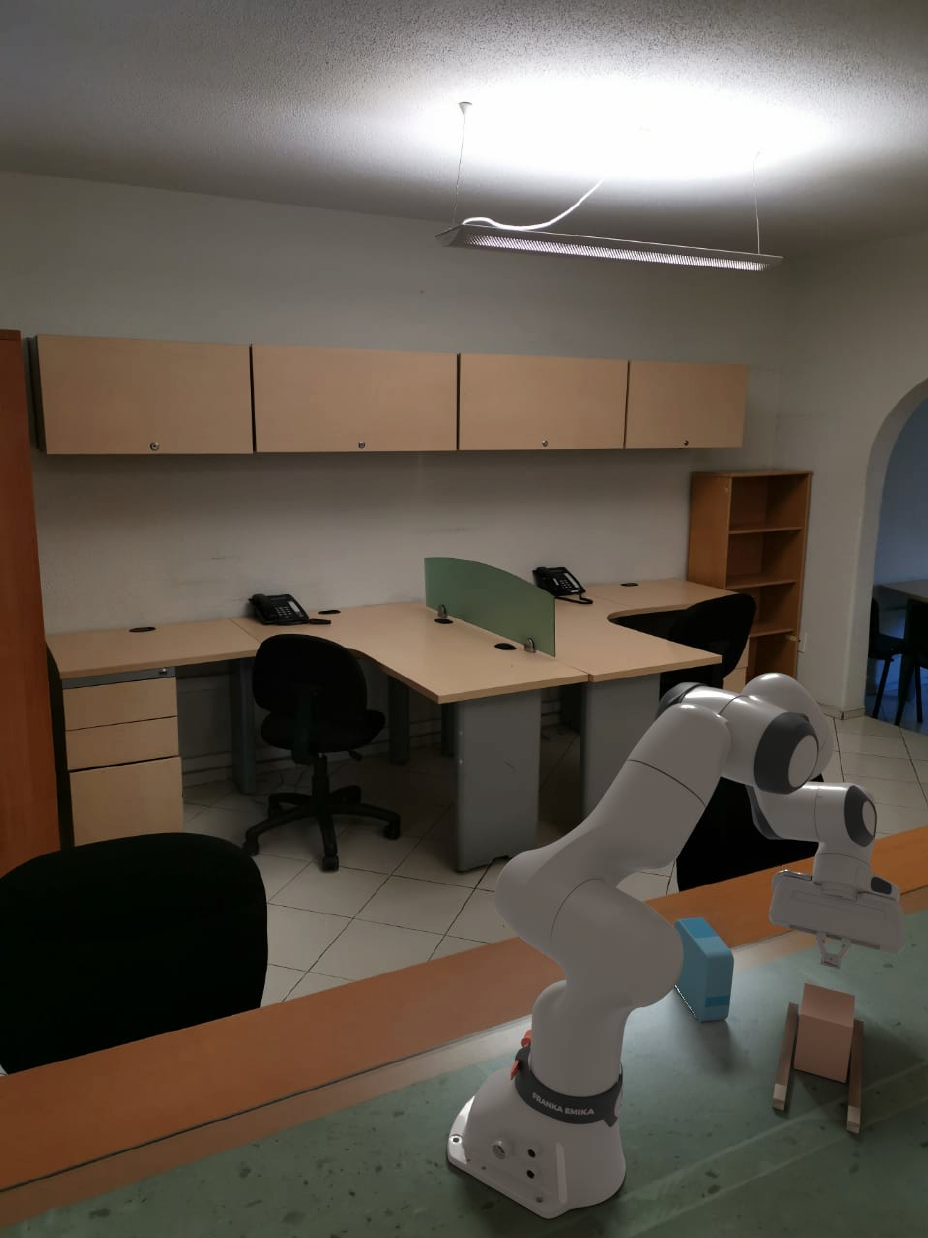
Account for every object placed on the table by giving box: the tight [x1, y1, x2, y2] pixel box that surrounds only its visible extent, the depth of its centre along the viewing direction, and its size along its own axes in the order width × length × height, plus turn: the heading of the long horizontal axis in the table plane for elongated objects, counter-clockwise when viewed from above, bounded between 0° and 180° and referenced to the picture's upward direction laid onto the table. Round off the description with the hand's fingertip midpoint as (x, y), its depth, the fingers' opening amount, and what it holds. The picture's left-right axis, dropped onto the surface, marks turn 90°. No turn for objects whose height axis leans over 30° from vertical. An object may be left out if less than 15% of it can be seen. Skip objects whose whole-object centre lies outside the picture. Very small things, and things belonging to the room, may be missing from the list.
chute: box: [771, 1001, 865, 1134], centre depth 136 cm, size 11×23×2 cm, turn 156°
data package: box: [673, 916, 735, 1023], centre depth 149 cm, size 12×4×12 cm, turn 12°
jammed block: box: [793, 982, 856, 1084], centre depth 136 cm, size 7×8×9 cm
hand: (830, 966), depth 146 cm, fingers closed
